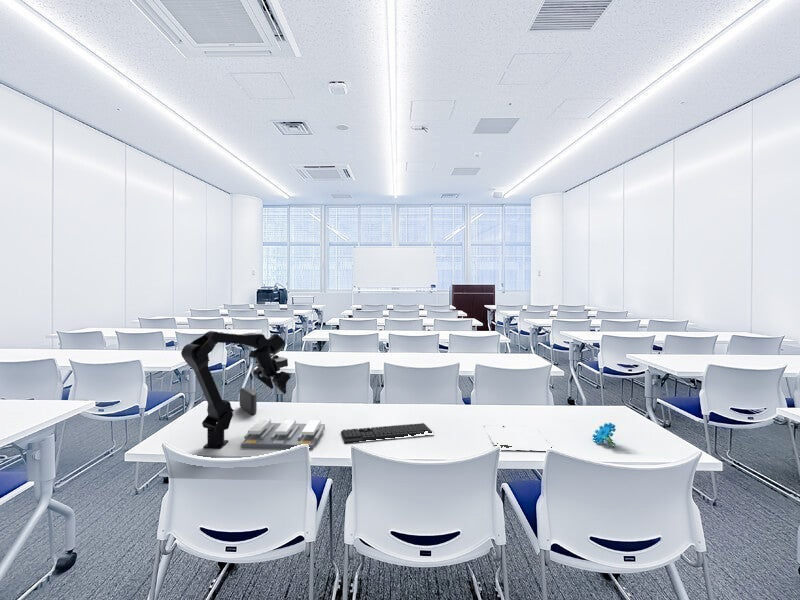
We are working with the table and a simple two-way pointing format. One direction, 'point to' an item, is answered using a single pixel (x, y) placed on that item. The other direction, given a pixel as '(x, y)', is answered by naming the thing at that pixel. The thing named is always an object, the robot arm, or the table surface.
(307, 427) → the key
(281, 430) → the key middle
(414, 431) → the keyboard
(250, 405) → the leaning round-cornered charcoal block
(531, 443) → the table surface
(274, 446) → the switch panel
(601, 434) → the blue flower
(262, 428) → the key
